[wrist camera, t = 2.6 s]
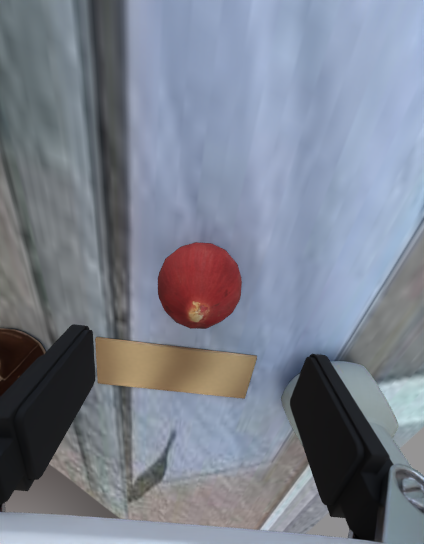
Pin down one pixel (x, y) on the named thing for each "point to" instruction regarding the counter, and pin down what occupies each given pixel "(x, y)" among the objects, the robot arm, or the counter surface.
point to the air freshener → (360, 405)
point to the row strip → (173, 368)
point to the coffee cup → (16, 355)
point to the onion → (199, 285)
